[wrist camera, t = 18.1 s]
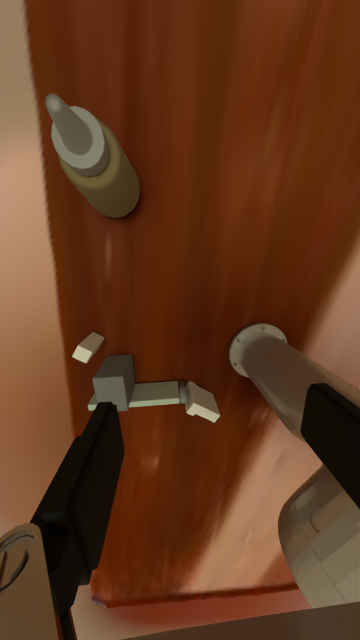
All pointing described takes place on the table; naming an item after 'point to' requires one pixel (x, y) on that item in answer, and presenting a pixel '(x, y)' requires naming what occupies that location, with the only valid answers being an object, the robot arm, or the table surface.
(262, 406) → the table surface
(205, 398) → the pale rectangular blocks
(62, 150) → the squeeze bottle
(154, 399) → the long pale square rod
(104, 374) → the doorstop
